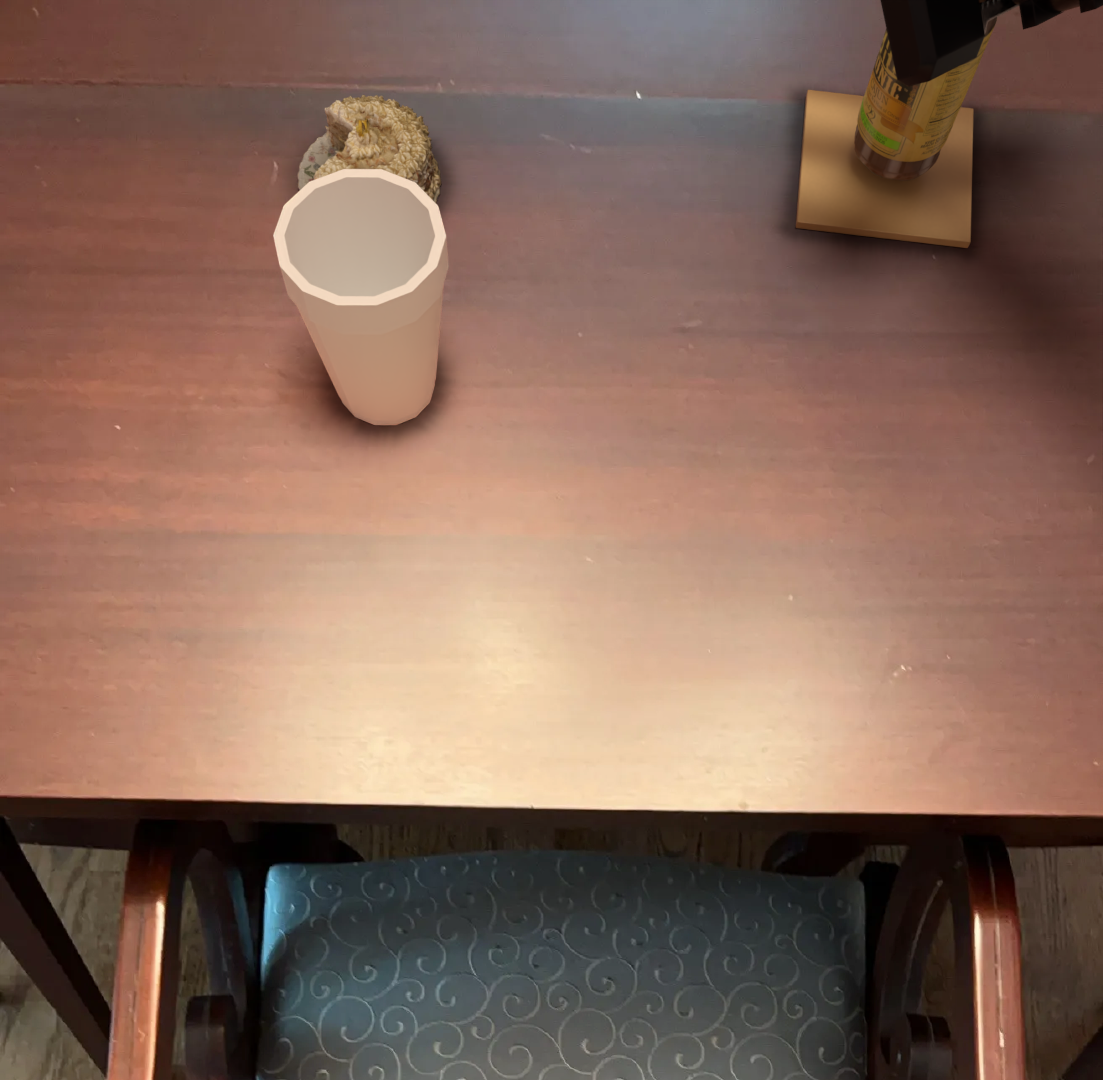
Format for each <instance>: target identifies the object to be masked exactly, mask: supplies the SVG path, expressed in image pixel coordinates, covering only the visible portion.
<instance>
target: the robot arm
mask: <svg viewBox="0 0 1103 1080" xmlns="http://www.w3.org/2000/svg"><path fill="white" fill-rule="evenodd" d="M880 5H881V10H882V14H883V19H884V20H883V21H884V23H885V30H886V29H887V34H888V39H889V43H890V48H891V53H892V58H893V63H894V67H895V72H896V77H897V80H898V81H899V82H901V83H902V84H904V85H905V86H907V87H909V86H913V85H917V84H921V83H925V82H928V81H931V80H933V79H935V78H937V77H939V76H941V75H943V74H945V73H946V72H948V71H950V70H952V69H954V68H956V67H958V66H960V65H962V64H964V63H966V62H968V61H970V60H972V59H974V58H976V57H977V55H978V52H979V50H980V47H981V45H982V42H983V40H984V37H985V32H986V29H987V23H988V22H989V21H990V20H992V19H994V18H996V17H997V18H998V17H999V16H1002V15H1003V14H1006V13H1008V12H1010V11H1012V10H1015V9H1016V8H1017V7H1019V12H1020V13H1019V15H1020V20H1021V26H1022V30H1027V29H1030V28H1035V27H1037V26H1039V25H1041V24H1043V23H1045V22H1048V21H1049V20H1051V19H1053V18H1055V17H1057V16H1059V15H1061V14H1062V13H1065V12H1066V11H1069V10H1072V9H1077V8H1079V10H1080V14H1084V13H1087V12H1090V11H1095V10H1097V9H1099V8H1101V7H1103V0H984V2H981V3H979V0H880Z"/></svg>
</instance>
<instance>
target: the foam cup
mask: <svg viewBox="0 0 1103 1080" xmlns="http://www.w3.org/2000/svg"><path fill="white" fill-rule="evenodd" d="M272 236H273V242H274V246H275V250H276V255H277V260H278V265H279V269H280V272H281V277H282V279H283V283H284V287H285V291H286V294H287V297H288V298H289V299H290V301H292V302H293V304H294V305H295V306H296V308H297V310H298V313H299V314H300V317H301V319H302V321H303V323H304V326H305V327H306V329H307V332H308V334H309V336H310V338H311V340H312V342H313V345H314V346H315V348H316V351H317V353H318V355H319V358H320V359H321V362H322V363H323V366H324V368H325V370H326V372H327V374H328V376H329V378H330V381H331V383H332V384H333V387H334V389H335V391H336V393H337V395H338V397H339V399H340V400H341V403H342V404H343V405H344V406H345V408H346V409H347V410H348V411H349V412H350V414H352V415H353V417H354V418H356V419H359V420H361V421H364V422H366V423H369V424H371V425H373V426H398V425H401V424H402V423H405V422H408V421H409V420H412V419H415V418H417V417H418V416H419V415H420V414H421V413H422V412H423V411H424V409H425V408H426V407H427V406H428V405H429V404H430V403H431V401H432V397H433V394H434V390H435V386H436V380H437V371H438V358H439V347H440V345H439V344H440V335H441V324H442V311H443V301H444V300H443V299H444V289H445V288H444V287H445V281H446V278H447V275H448V272H449V269H450V262H449V252H448V240H447V233H446V230H445V226H444V223H443V219H442V215H441V211H440V207H439V205H438V204H437V202H436V203H435V202H434V201H433V200H432V199H431V198H430V197H429V196H428V195H427V194H426V193H425V192H424V191H423V190H422V189H421V188H420V187H419V186H418V185H417V184H416V183H415V182H413V181H410V180H408V179H405V178H403V177H400V176H398V175H395V174H393V173H390V172H387V171H385V170H382V169H343V170H340V171H337V172H334V173H332V174H329V175H326V176H324V177H321V178H318V179H315V180H313V181H310V182H308V183H307V184H306V185H305V186H304V187H303V188H302V189H301V190H300V189H299V191H297V192H296V193H295V194H294V195H293V196H292V197H291V198H290V199H289V200H288V201H287V202H286V203H284V205H283V207H282V208H281V213H280V215H279V217H278V221H277V223H276V226H275V229H274V232H273V234H272Z"/></svg>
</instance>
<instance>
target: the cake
mask: <svg viewBox="0 0 1103 1080" xmlns="http://www.w3.org/2000/svg"><path fill="white" fill-rule="evenodd" d="M324 112H325V115H326V122H327V123H326V124H327V125H328V126H327V125H324V128H325V129H326V132H324V134H323V135H321V136H318V137H317V138H316V139H315V140H314V142H313V143H311V144H310V145H309V146H308V148H307V149H306V151H305V152H304V153H303V154H302V158H301V161H300V162H299V165H298V167H299V168H298V172H297V179H298V181H297V187H298V189H299V191H300V190H301V189H302V188H303V187H304V186H305V185H306V184H307V183H308V182H310V181H313V180H315V179H318V178H321V177H324V176H326V175H329V174H332V173H334V172H337V171H340V170H343V169H382V170H385V171H387V172H390V173H393V174H395V175H398V176H400V177H403V178H405V179H408V180H410V181H413V182H415V183H416V184H417V185H418V186H419V187H420V188H421V189H422V190H423V191H424V192H425V193H426V194H427V195H428V196H429V197H430V198H431V199H432V200H433V201H434V202H435V203H436V204H437V202H438V197H439V196H440V194H441V186H442V184H443V183H442V180H441V170H440V169H439V163H438V161H437V159H436V158H435V155H434V153H433V151H432V149H433V145H432V143H431V142H432V141H433V140H432V138H431V137H430V136H429V135H430V132H429V125H426V124H425V121H424V116H422V115H419V116H418V115H417V114H418V113H416V112H414V109H413V108H411V107H409V106H407V105H404V104H402V105H401V104H400V103H399V101H397V100H395V99H394V98H393V99H391V98H388V99H387V100H385V99H384V95H378V94H376V95H373V96H372V95H367V96H366V95H365V94H362V95H361V96H360V97H359V96H357V97H352V95H349V96H348V97H344V98H343V99H342V101H341V100H339V99H338V100H337V99H336V100H335V101H334V102H332V103H331V105H329V106H326V107H324Z"/></svg>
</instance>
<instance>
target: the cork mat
mask: <svg viewBox="0 0 1103 1080" xmlns="http://www.w3.org/2000/svg"><path fill="white" fill-rule="evenodd" d="M863 98H864V95H858V94H851V93H842V92H841V93H840V92H832V91H824V90H813V89H807V91H806V94H805V101H804V102H805V104H804V114H803V115H804V116H803V126H802V128H803V130H802V141H801V154H800V165H799V166H800V167H799V179H798V192H797V204H796V216H795V229H801V230H810V231H816V232H817V231H818V232H819V231H820V232H826V233H827V232H828V233H834V234H835V233H836V234H845V235H851V236H852V235H853V236H861V237H868V238H878V239H886V240H894V241H904V242H912V243H921V244H929V245H937V246H946V247H955V248H961V249H968V248H969V247H970V244H971V240H972V239H971V238H972V237H971V236H972V198H973V197H972V195H973V194H972V193H973V191H972V190H973V153H974V152H973V147H974V108H971V107H963V106H961V107H960V110H959V112H958V114H957V117H956V119H955V122H954V124H953V126H952V129H951V131H950V134H949V136H948V138H947V141H946V142H945V144H944V146H943V147H942V148H941V151H940V155H939V157H938V159H937V161H936V163H935V164H934V165H933V166H932V167H931V168H930V169H929V170H928V171H927V172H925V173H924V174H922V175H921V176H919V177H917V178H915V179H913V180H908V181H899V180H892V179H887V178H884V177H883V178H882V177H880V176H877V175H875V174H873V173H872V172H871V171H870V170H869V169H868V168H867V167H866V166H865V165H864V164H863V163H862V162H861V160H860V159H859V158H858V157H857V155H856V152H855V144H854V141H855V140H854V138H855V131H856V127H857V119H858V114H859V110H860V107H861V104H862V101H863Z"/></svg>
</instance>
